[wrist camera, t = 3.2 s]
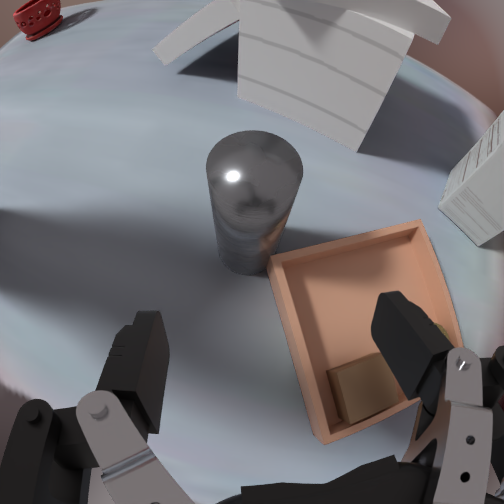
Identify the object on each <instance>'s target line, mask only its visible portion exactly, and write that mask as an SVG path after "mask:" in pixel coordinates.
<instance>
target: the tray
mask: <svg viewBox="0 0 504 504" xmlns="http://www.w3.org/2000/svg"><path fill="white" fill-rule="evenodd" d="M266 269H267V273H268V276H269V280H270V283H271V287H272V290H273V294H274V297H275V301H276V304H277V307H278V311H279V314H280V318H281V321H282V325H283V328H284V332H285V335H286V339H287V342H288V346H289V349H290V353H291V357H292V360H293V364H294V367H295V371H296V374H297V378H298V381H299V385H300V388H301V392H302V396H303V399H304V403H305V406H306V410H307V414H308V417H309V421H310V424H311V428H312V432H313V435H314V436H315V437H316V438H317V439H318V440H319V441H320V442H321V443H322V444H324V445H326V444H328V443H331V442H334V441H336V440H339V439H341V438H344V437H346V436H349V435H351V434H353V433H356V432H358V431H360V430H362V429H365V428H367V427H369V426H371V425H373V424H375V423H378V422H380V421H382V420H384V419H386V418H388V417H390V416H392V415H393V414H395V413H397V412H399V411H401V410H403V409H405V408H407V407H408V406H410V405H412V404H414V403H415V402H417V401H419V400H421V399H420V397H418V398H415V399H413V400H410V401H408V399H407V398H406V396H405V394H404V392H403V390H402V389H401V387H400V385H399V383H398V382H397V380H396V378H395V376H394V375H393V378H394V382H395V386H396V390H397V395H398V399H399V402H397V403H395V404H393V405H391V406H389V407H387V408H385V409H383V410H381V411H379V412H377V413H375V414H373V415H371V416H368V417H366V418H364V419H362V420H359V421H357V422H355V423H353V424H349V423H347V422H345V421H343V420H342V419H340V418H338V414H337V410H336V407H335V403H334V399H333V395H332V392H331V388H330V384H329V381H328V377H327V373H326V370H329V369H332V368H334V367H337V366H340V365H342V364H345V363H348V362H350V361H353V360H355V359H358V358H360V357H363V356H365V355H368V354H370V353H377V352H380V351H379V349H378V347H377V346H376V344H375V342H374V341H373V339H372V336H371V323H372V319H373V315H374V312H375V308H376V303H377V299H378V296H379V294H380V293H383V292H391V291H400V292H401V293H402V294H403V295H404V296H405V297H406V298H407V299H408V301H411V302H413V303H414V304H416V305H417V306H419V307H421V308H422V309H423V311H424V312H425V313H426V314H427V315H428V318H430V319H431V320H432V321H433V322H434V323H437V324H439V325H441V326H442V327H443V328H444V329H445V330H446V332H447V334H448V336H449V340H450V342H451V344H452V345H453V346H454V347H455V348H457V347H463V348H464V346H463V342H462V338H461V334H460V330H459V326H458V322H457V318H456V315H455V311H454V308H453V304H452V301H451V298H450V295H449V292H448V288H447V285H446V282H445V279H444V277H443V274H442V271H441V268H440V265H439V263H438V260H437V257H436V255H435V252H434V250H433V247H432V245H431V242H430V240H429V237H428V235H427V233H426V230H425V228H424V226H423V223H422V221H421V219H419V220H415V221H411V222H407V223H403V224H399V225H395V226H391V227H387V228H383V229H379V230H374V231H370V232H366V233H362V234H358V235H354V236H350V237H346V238H342V239H338V240H334V241H330V242H326V243H321V244H317V245H313V246H309V247H305V248H301V249H297V250H292V251H288V252H284V253H280V254H276V255H272V256H270V258H269V261H268V264H267V267H266Z"/></svg>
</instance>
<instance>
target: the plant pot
mask: <svg viewBox="0 0 504 504" xmlns="http://www.w3.org/2000/svg"><path fill="white" fill-rule="evenodd" d="M53 3H54V4H53ZM47 4H48V7H46V5H47ZM60 8H61V6H60V0H31V1H29V2H27V3H26V4H24V5H23V6H22V7H20V8H19V9H18V10H17V11H16V12H15V13H14V14H13V17H14V20H15V22H16V23H17V25H18V27H19V29H20V30H21V31H22V32H23V33H25V34H27V36H26V40H29V41H31V40H35V39H38V38H40V37H42V36H44V35H46V34H47V33H49V32H50V31H52V30H53V29H55V28H56V27H57V26H58V25H59V24H60V23H61V21H62V19H63V16H62V15H60ZM39 11H41V13H38V12H39ZM31 16H33V17H31ZM22 23H23V24H22Z"/></svg>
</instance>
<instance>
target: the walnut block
mask: <svg viewBox="0 0 504 504" xmlns="http://www.w3.org/2000/svg"><path fill="white" fill-rule="evenodd" d="M326 373H327V377H328V381H329V384H330V388H331V392H332V395H333V399H334V403H335V407H336V410H337V414H338V418H340V419H342V420H343V421H345V422H347V423H349V424H353V423H355V422H357V421H359V420H362V419H364V418H366V417H368V416H371V415H373V414H375V413H377V412H379V411H381V410H383V409H385V408H387V407H389V406H391V405H393V404H395V403H397V402H399V399H398V395H397V390H396V386H395V382H394V378H393V373H392V371H391V369H390V368H389V366H388V364H387V363H386V361H385V359H384V357H383V356H382V354H381V352H377V353H370V354H368V355H365V356H363V357H360V358H358V359H355V360H353V361H350V362H348V363H345V364H342V365H340V366H337V367H334V368H332V369H329V370H326Z"/></svg>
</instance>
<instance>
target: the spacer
mask: <svg viewBox="0 0 504 504" xmlns="http://www.w3.org/2000/svg"><path fill="white" fill-rule="evenodd" d="M206 172H207V179H208V186H209V193H210V199H211V206H212V212H213V219H214V225H215V231H216V237H217V243H218V249H219V255H220V258H221V260H222V262H223V263H224V264H225V266H226V267H227V268H229V269H230V270H231V271H233V272H235V273H238V274H242V275H253V274H257V273H259V272H261V271H263V270H265V269H266V267H267V264H268V261H269V258H270V256H272V255H275V253H276V250H277V247H278V244H279V242H280V239H281V236H282V233H283V231H284V228H285V225H286V222H287V220H288V217H289V214H290V211H291V209H292V206H293V203H294V200H295V197H296V195H297V192H298V189H299V186H300V183H301V180H302V177H303V165H302V161H301V158H300V156H299V154H298V153H297V151H296V150H295V149H294V148H293V146H292V145H291V144H289V143H288V142H287V141H286V140H284V139H282V138H281V137H279V136H277V135H274V134H271V133H268V132H263V131H255V130H253V131H242V132H237V133H234V134H231V135H229V136H227V137H225V138H223V139H222V140H221V141H219V142H218V143H217V144H216V145H215V146H214V147H213V149H212V150H211V152H210V153H209V156H208V158H207V163H206Z"/></svg>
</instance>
